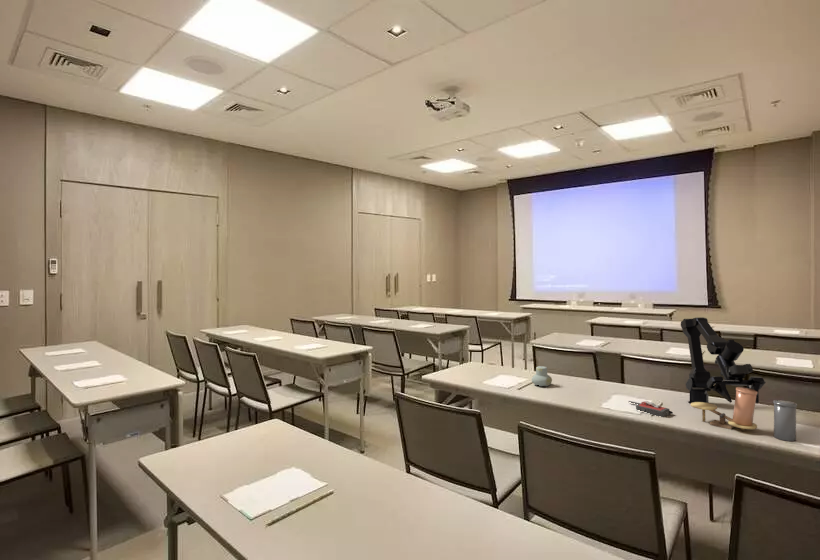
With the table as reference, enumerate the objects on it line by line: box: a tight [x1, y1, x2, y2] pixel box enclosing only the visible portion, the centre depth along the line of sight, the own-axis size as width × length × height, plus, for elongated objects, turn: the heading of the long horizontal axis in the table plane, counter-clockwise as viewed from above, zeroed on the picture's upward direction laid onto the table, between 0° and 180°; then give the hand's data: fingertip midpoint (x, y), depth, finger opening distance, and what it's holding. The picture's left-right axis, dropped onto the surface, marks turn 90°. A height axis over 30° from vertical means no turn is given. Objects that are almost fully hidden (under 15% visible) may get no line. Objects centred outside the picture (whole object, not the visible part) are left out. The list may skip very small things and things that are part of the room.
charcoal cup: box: [772, 399, 798, 442], centre depth 162 cm, size 7×7×13 cm
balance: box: [690, 402, 758, 431], centre depth 176 cm, size 22×9×7 cm, turn 39°
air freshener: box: [531, 365, 553, 387], centre depth 243 cm, size 11×8×10 cm
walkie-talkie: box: [628, 400, 674, 418], centre depth 197 cm, size 9×4×20 cm
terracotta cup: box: [732, 386, 757, 426], centre depth 170 cm, size 7×7×13 cm
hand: (744, 402), depth 169 cm, fingers open, 9 cm apart
